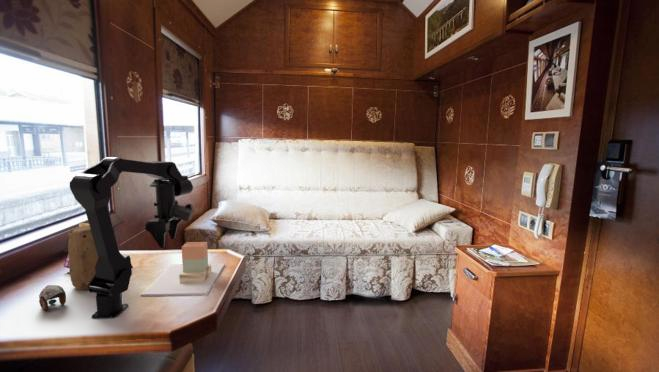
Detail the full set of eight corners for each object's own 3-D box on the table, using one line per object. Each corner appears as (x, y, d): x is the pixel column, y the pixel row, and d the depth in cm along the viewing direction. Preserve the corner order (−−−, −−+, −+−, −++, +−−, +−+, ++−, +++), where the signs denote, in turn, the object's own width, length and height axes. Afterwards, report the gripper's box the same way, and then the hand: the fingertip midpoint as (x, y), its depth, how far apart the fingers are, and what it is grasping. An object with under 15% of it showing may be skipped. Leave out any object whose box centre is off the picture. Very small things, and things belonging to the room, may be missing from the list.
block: (82, 293, 100) (76, 231, 97) (68, 288, 104) (63, 228, 101) (117, 280, 110) (113, 223, 107) (104, 275, 113) (99, 220, 110)
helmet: (61, 305, 96) (53, 283, 96) (75, 300, 92) (67, 277, 92) (37, 315, 90) (29, 292, 90) (51, 310, 87) (43, 286, 87)
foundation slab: (204, 282, 109) (203, 274, 108) (179, 283, 108) (179, 274, 108) (211, 271, 118) (211, 263, 117) (188, 272, 117) (188, 264, 116)
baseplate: (207, 294, 102) (207, 293, 102) (140, 296, 100) (140, 294, 100) (224, 265, 125) (224, 263, 125) (171, 265, 123) (171, 264, 123)
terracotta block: (203, 259, 110) (203, 246, 109) (182, 259, 109) (181, 246, 108) (207, 254, 114) (207, 242, 114) (187, 254, 114) (186, 242, 113)
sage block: (204, 271, 110) (203, 259, 110) (182, 272, 109) (182, 259, 109) (208, 266, 115) (207, 254, 114) (187, 266, 114) (187, 254, 114)
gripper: (180, 204, 99) (182, 252, 102) (198, 194, 118) (200, 235, 120) (142, 204, 98) (145, 253, 101) (167, 193, 117) (169, 235, 119)
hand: (167, 243), depth 110 cm, fingers open, 9 cm apart
